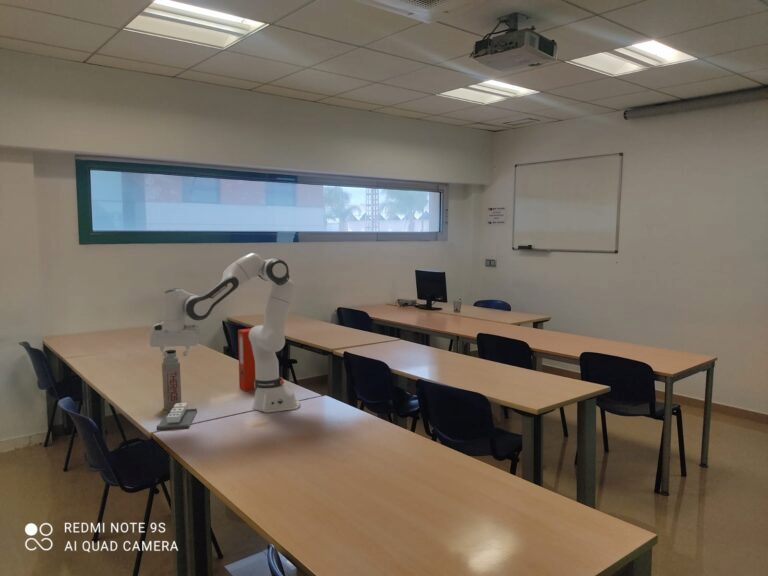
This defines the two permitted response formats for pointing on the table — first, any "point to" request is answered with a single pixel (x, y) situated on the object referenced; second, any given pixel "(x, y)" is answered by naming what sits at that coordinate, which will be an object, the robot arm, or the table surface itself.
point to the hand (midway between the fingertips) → (175, 356)
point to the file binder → (246, 361)
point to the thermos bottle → (171, 380)
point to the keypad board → (182, 424)
